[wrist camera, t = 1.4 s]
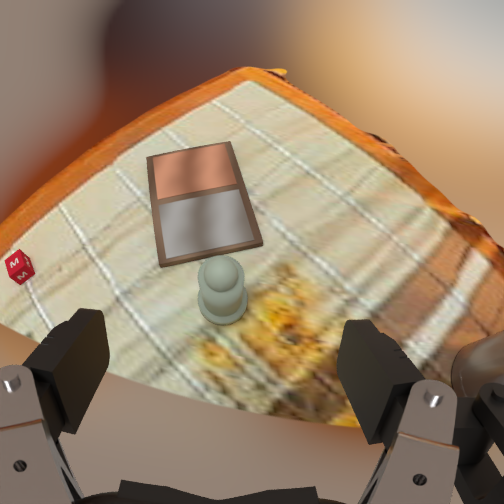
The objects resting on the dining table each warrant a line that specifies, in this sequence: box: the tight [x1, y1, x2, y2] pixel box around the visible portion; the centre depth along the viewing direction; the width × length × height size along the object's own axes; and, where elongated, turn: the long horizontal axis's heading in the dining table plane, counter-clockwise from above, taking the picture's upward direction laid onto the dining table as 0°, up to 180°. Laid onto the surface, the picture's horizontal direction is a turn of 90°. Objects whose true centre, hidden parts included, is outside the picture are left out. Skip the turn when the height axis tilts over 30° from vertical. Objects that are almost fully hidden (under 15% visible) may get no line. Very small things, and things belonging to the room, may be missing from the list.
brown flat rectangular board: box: [146, 141, 263, 268], centre depth 43 cm, size 13×18×1 cm
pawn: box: [198, 255, 248, 325], centre depth 33 cm, size 6×6×10 cm
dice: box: [5, 249, 35, 285], centre depth 36 cm, size 3×3×3 cm
